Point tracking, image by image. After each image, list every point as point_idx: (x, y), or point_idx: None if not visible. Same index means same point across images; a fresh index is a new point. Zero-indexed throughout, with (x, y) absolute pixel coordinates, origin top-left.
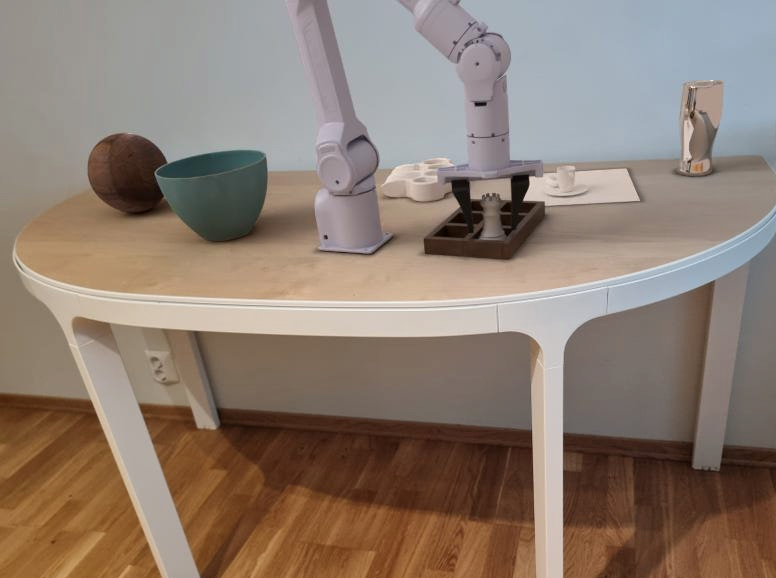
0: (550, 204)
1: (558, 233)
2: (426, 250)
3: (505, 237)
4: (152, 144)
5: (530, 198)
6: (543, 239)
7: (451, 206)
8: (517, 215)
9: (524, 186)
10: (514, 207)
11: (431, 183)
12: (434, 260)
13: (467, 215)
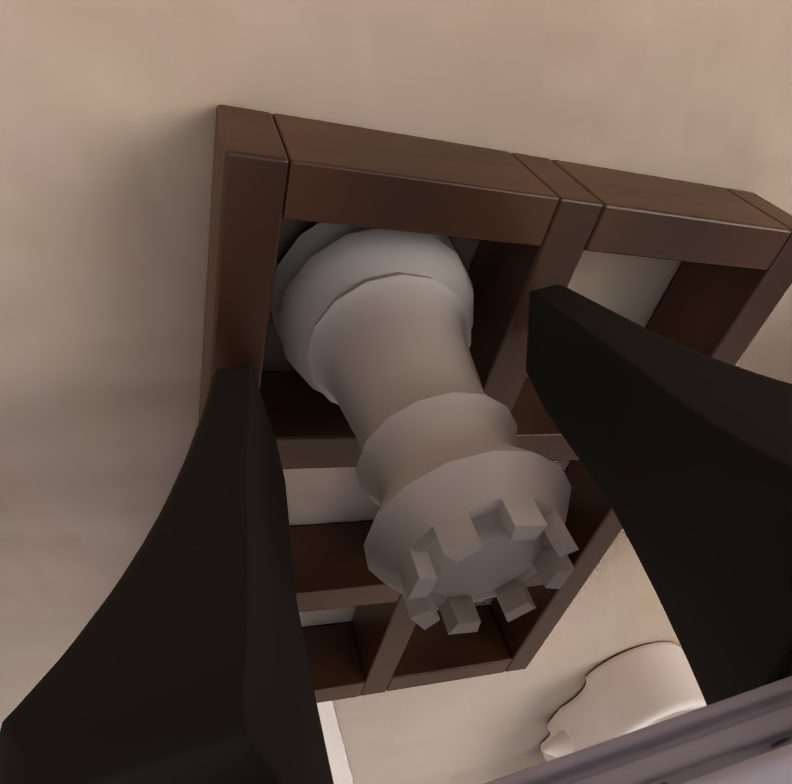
0: None
1: (29, 526)
2: (758, 197)
3: (292, 329)
4: None
5: None
6: (86, 449)
7: (565, 638)
8: (195, 445)
9: (32, 756)
10: (223, 494)
11: (654, 713)
12: (723, 83)
13: (649, 347)
